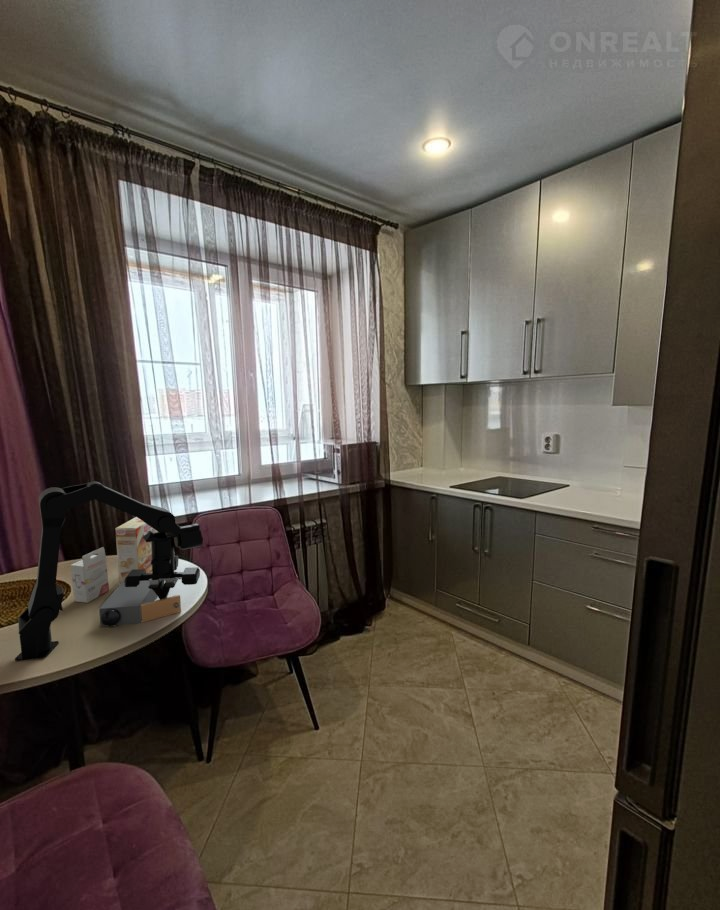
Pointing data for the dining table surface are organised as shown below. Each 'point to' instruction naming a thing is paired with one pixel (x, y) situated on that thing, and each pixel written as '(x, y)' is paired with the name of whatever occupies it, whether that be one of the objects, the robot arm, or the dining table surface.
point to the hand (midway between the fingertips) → (164, 604)
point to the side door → (160, 608)
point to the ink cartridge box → (90, 576)
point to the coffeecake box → (133, 547)
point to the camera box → (126, 604)
